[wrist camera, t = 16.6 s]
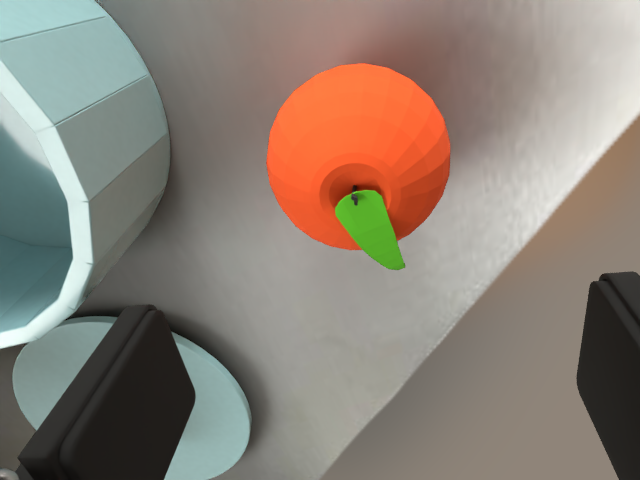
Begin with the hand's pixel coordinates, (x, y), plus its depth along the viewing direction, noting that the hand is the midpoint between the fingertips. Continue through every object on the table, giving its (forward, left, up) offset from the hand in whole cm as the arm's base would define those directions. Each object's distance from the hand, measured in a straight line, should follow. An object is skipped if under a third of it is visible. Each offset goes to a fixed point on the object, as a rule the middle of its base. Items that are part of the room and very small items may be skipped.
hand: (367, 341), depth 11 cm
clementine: (0, 0, -13) cm, 13 cm away
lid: (-17, -16, -12) cm, 26 cm away
